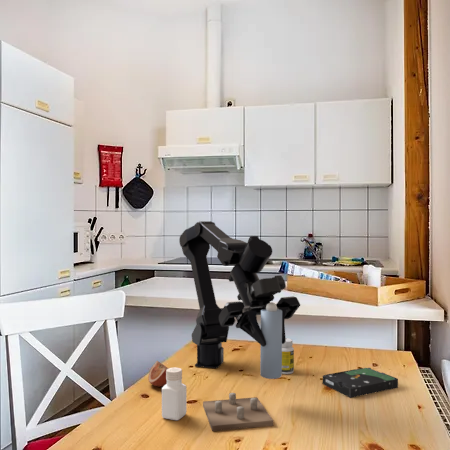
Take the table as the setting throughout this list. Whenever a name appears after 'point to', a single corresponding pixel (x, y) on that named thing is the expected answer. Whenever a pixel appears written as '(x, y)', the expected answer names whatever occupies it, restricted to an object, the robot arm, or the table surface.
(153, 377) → the fruit slice
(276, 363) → the pepper mill
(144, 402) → the table surface
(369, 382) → the disk drive
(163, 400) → the white plastic bottle
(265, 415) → the brown pegged base plate
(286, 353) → the supplement bottle
